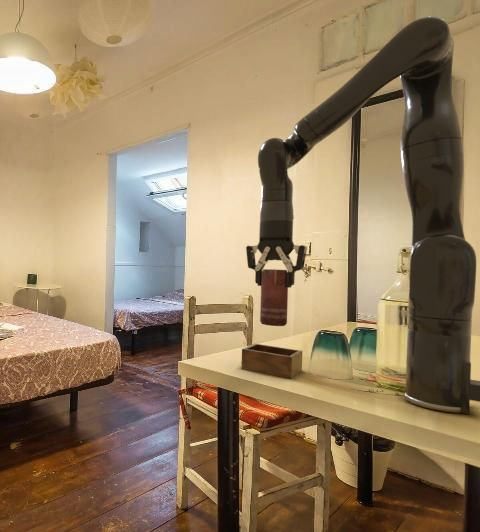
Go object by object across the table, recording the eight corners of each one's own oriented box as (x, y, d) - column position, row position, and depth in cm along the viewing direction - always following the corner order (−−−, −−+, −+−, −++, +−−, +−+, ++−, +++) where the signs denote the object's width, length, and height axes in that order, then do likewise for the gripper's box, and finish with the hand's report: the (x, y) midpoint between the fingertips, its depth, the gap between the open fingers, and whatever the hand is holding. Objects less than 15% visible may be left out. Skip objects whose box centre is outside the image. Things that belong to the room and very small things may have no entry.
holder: (301, 370, 100) (302, 350, 100) (291, 378, 93) (291, 357, 93) (254, 362, 108) (255, 343, 108) (241, 368, 101) (241, 348, 100)
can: (263, 325, 98) (264, 269, 97) (258, 321, 104) (259, 268, 103) (290, 327, 96) (291, 269, 96) (283, 323, 102) (284, 269, 102)
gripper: (241, 220, 101) (239, 285, 102) (304, 217, 92) (302, 289, 92) (252, 222, 107) (250, 284, 107) (312, 220, 97) (310, 287, 98)
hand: (274, 286), depth 100 cm, fingers closed on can, 6 cm apart
